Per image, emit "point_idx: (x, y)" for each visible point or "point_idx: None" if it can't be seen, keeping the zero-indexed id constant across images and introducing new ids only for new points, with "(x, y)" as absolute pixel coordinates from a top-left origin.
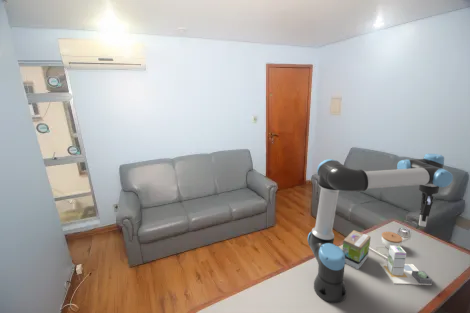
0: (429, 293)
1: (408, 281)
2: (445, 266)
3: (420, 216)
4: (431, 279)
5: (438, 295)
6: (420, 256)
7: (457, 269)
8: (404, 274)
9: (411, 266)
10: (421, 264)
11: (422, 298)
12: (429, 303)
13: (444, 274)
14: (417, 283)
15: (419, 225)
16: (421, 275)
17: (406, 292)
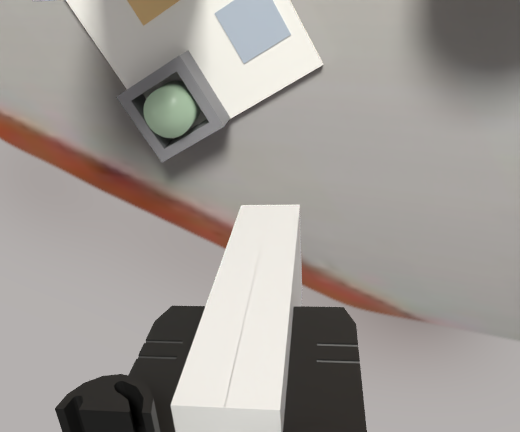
0: (90, 132)
1: (103, 28)
2: (409, 242)
3: (220, 339)
4: (159, 157)
5: (106, 170)
6: (467, 120)
7: (407, 290)
8: (160, 4)
9: (288, 54)
10: (361, 118)
11: (22, 94)
12: (11, 123)
13: (318, 224)
14: (122, 79)
15: (239, 211)
16: (149, 107)
17: (6, 14)
